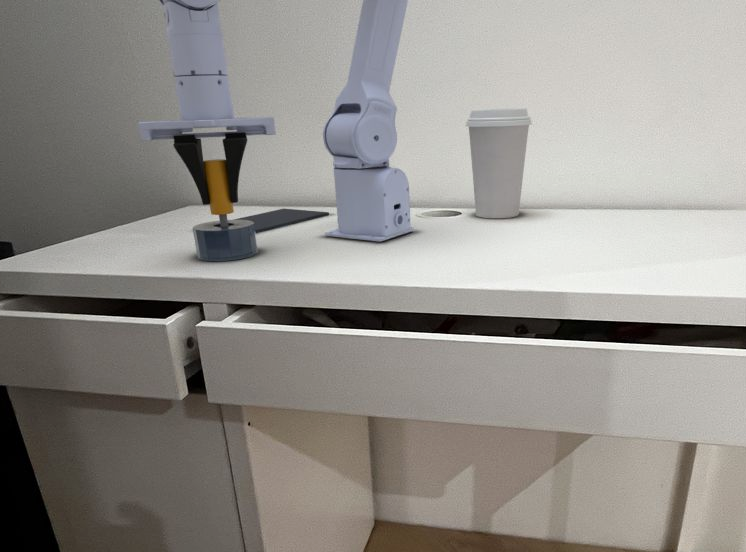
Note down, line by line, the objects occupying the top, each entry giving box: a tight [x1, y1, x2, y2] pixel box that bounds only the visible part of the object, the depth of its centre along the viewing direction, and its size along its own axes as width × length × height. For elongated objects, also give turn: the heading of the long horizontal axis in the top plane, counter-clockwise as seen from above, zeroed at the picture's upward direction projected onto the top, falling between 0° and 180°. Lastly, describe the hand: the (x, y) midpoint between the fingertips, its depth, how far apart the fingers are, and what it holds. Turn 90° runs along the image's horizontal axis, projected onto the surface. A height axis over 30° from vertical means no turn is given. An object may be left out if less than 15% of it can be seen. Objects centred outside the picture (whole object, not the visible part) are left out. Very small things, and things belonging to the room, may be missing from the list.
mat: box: [233, 208, 330, 234], centre depth 95 cm, size 10×18×1 cm, turn 147°
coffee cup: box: [465, 108, 533, 219], centre depth 92 cm, size 10×10×15 cm
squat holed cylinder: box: [192, 219, 258, 262], centre depth 75 cm, size 7×7×4 cm
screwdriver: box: [203, 158, 235, 227], centre depth 73 cm, size 3×3×10 cm
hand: (220, 202), depth 73 cm, fingers closed on screwdriver, 2 cm apart
